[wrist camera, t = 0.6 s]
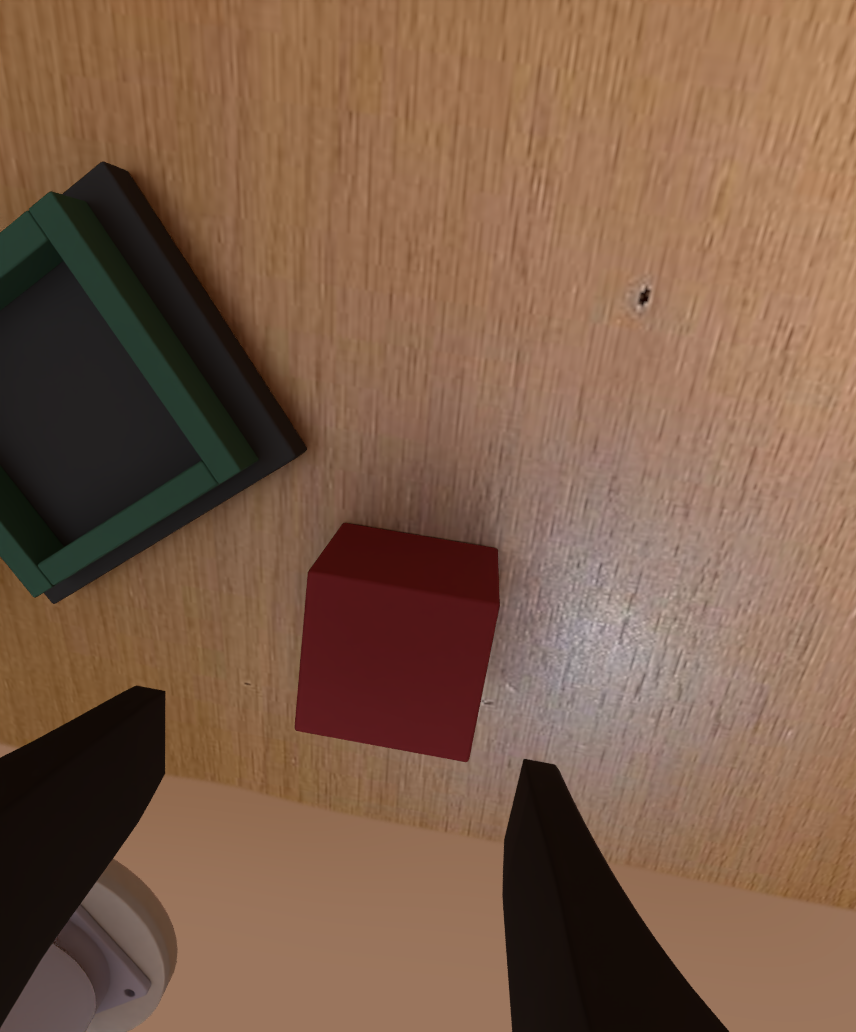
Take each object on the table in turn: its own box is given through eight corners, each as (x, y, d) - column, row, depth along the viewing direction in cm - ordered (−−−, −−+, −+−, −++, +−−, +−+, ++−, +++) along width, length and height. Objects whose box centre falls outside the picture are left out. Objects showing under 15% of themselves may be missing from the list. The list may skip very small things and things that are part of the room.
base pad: (76, 590, 21) (21, 625, 19) (-107, 359, 19) (-194, 366, 17) (308, 449, 19) (281, 468, 16) (128, 169, 17) (66, 144, 14)
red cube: (328, 657, 21) (293, 732, 17) (342, 521, 19) (306, 570, 16) (472, 682, 21) (468, 764, 17) (498, 547, 19) (500, 603, 15)
